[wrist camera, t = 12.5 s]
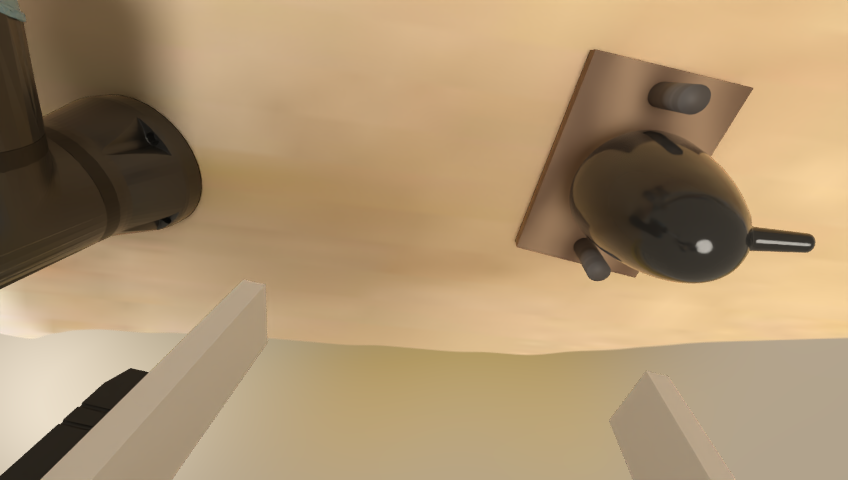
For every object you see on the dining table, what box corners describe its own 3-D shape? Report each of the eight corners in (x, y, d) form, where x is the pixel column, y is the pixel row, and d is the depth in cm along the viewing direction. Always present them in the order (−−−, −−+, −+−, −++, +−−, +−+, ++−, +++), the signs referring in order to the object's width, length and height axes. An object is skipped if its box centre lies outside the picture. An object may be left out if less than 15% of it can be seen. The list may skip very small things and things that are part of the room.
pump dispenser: (670, 224, 33) (802, 330, 20) (558, 231, 35) (609, 333, 22) (690, 114, 29) (877, 156, 15) (561, 130, 31) (627, 179, 17)
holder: (515, 240, 38) (522, 271, 32) (590, 50, 29) (618, 46, 23) (629, 270, 38) (657, 306, 32) (740, 87, 29) (806, 92, 23)
